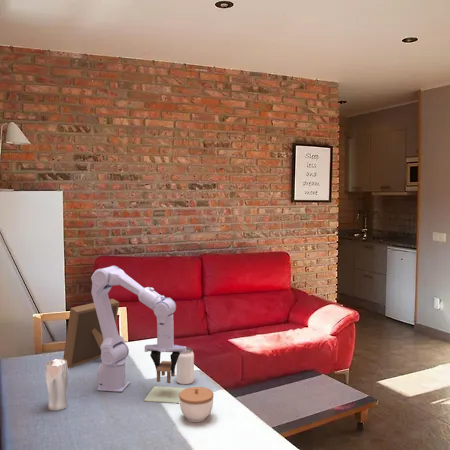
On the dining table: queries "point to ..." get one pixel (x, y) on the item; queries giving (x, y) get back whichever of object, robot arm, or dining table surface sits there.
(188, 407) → the lidded jar
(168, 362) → the stool
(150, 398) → the mat
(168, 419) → the dining table surface
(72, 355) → the photo frame
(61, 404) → the beer glass
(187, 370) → the can
